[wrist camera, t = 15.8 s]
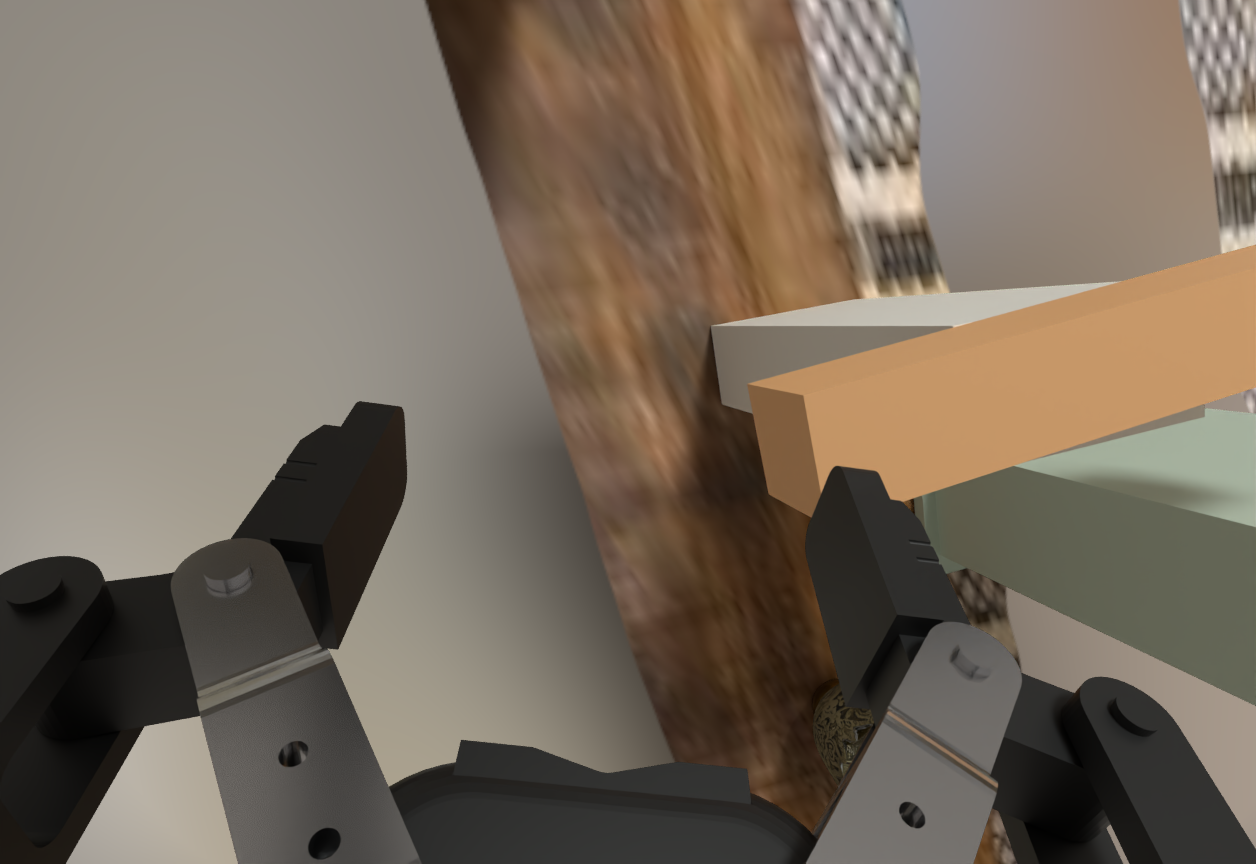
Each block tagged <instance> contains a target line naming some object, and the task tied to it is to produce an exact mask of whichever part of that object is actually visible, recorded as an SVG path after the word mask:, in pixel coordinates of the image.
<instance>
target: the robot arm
mask: <svg viewBox="0 0 1256 864" xmlns="http://www.w3.org/2000/svg"><path fill="white" fill-rule="evenodd" d="M405 440H406V439H405V420H404V412H403V409H402V407H399V406H391V405H384V404H377V403H369V402H362V401H359V402H357V403H356V404H355V406H354V407H353V409H352V410H351V412H350V413H349V415H348V417H347V418H346V420H345V421H344V423H343V424H342V426H341V427H339V426H331V425H323V426H321V427H320V428H318V429H317V430H315V431H314V432H312V433H311V434H309V435H308V436H306V437H305V438H303V439H302V440H300V441H299V443H298V444H297V446H296V447H295V449H294V450H293V451H292V453H291V454H290V456H289V457H288V458H287V462H286V464H283V466H282V467H281V468H280V470H279V471H278V473H277V474H276V476H275V480H272V481H271V482H270V484H269V485H268V487H267V488H266V490H265V491H264V492H263V494H262V495H261V497H260V498H259V500H258V501H257V502H256V504H255V505H254V507H253V508H252V510H251V511H250V512H249V514H248V515H247V517H246V518H245V519H244V521H243V522H242V524H241V525H240V526H239V528H238V529H237V531H236V532H235V534H234V535H233V536H232V538H231V539H228V540H224V541H220V542H216V543H213V544H211V545H208V546H206V547H204V548H201V549H200V550H198V551H196V552H195V553H193V554H191V555H190V556H189V557H188V558H186V559H185V560H184V561H183V562H182V563H181V564H180V565H179V566H178V568H177V569H176V571H175V572H173V573H169V574H163V575H156V576H148V577H140V578H131V579H123V580H115V581H106V582H105V580H104V577H103V575H102V572H101V571H100V569H99V568H98V567H97V566H96V565H95V564H94V563H92V562H91V561H89V560H86V559H83V558H79V557H71V556H57V557H48V558H43V559H38V560H35V561H31V562H28V563H25V564H22V565H20V566H17V567H15V568H13V569H10V570H9V571H6V572H4V573H3V574H1V575H0V864H66V862H67V860H68V859H69V857H70V855H71V853H72V852H73V850H74V848H75V846H76V845H77V843H78V841H79V840H80V838H81V836H82V834H83V833H84V831H85V829H86V827H87V826H88V824H89V822H90V820H91V819H92V817H93V815H94V813H95V812H96V810H97V808H98V806H99V805H100V803H101V801H102V799H103V798H104V796H105V794H106V792H107V791H108V789H109V787H110V785H111V784H112V782H113V780H114V779H115V777H116V775H117V773H118V772H119V770H120V768H121V766H122V765H123V763H124V761H125V759H126V758H127V756H128V754H129V752H130V751H131V749H132V747H133V745H134V744H135V742H136V740H137V738H138V737H139V735H140V733H141V731H142V730H143V728H144V726H148V725H154V724H159V723H165V722H170V721H175V720H180V719H186V718H191V717H197V716H201V720H202V724H203V728H204V732H205V736H206V740H207V744H208V748H209V751H210V755H211V759H212V763H213V767H214V771H215V775H216V779H217V783H218V787H219V790H220V794H221V798H222V802H223V806H224V810H225V814H226V818H227V822H228V825H229V830H230V833H231V837H232V841H233V845H234V849H235V853H236V857H237V861H238V864H973V863H974V860H975V857H976V854H977V851H978V848H979V845H980V842H981V839H982V836H983V833H984V830H985V827H986V824H987V821H988V818H989V815H990V812H991V809H992V808H993V809H995V810H998V811H999V813H1000V816H1001V819H1002V821H1003V824H1004V827H1005V830H1006V833H1007V835H1008V838H1009V841H1010V844H1011V847H1012V850H1013V852H1014V855H1015V858H1016V861H1017V864H1123V863H1122V860H1121V858H1120V856H1119V854H1118V852H1117V850H1116V848H1115V846H1114V843H1113V841H1112V839H1111V837H1110V835H1109V833H1108V831H1107V829H1106V828H1107V827H1108V826H1109V825H1110V824H1111V826H1112V828H1113V830H1114V832H1115V834H1116V836H1117V839H1118V840H1119V842H1120V845H1121V847H1122V849H1123V851H1124V853H1125V855H1126V857H1127V859H1128V861H1129V863H1130V864H1256V849H1255V847H1254V846H1253V844H1252V843H1251V841H1250V839H1249V838H1248V836H1247V835H1246V833H1245V831H1244V830H1243V828H1242V827H1241V825H1240V823H1239V822H1238V820H1237V819H1236V817H1235V815H1234V814H1233V812H1232V811H1231V809H1230V807H1229V806H1228V804H1227V803H1226V801H1225V800H1224V798H1223V796H1222V795H1221V793H1220V792H1219V790H1218V788H1217V787H1216V786H1215V784H1214V782H1213V780H1212V779H1211V777H1210V776H1209V774H1208V772H1207V771H1206V769H1205V768H1204V766H1203V764H1202V763H1201V761H1200V760H1199V759H1198V756H1197V755H1196V753H1195V752H1194V750H1193V748H1192V747H1191V745H1190V744H1189V742H1188V741H1187V739H1186V737H1185V736H1184V734H1183V733H1182V731H1181V729H1180V728H1179V726H1178V725H1177V723H1176V722H1175V721H1174V719H1173V718H1172V717H1171V716H1170V715H1169V713H1168V712H1167V711H1166V710H1165V709H1164V708H1163V707H1162V706H1161V705H1160V704H1158V703H1157V702H1156V701H1155V700H1153V699H1152V698H1151V697H1150V696H1148V695H1147V694H1145V693H1144V692H1142V691H1141V690H1139V689H1137V688H1135V687H1134V686H1131V685H1129V684H1127V683H1125V682H1122V681H1119V680H1117V679H1113V678H1108V677H1094V678H1090V679H1088V680H1086V681H1085V682H1084V683H1083V684H1082V686H1080V688H1079V689H1078V690H1077V691H1076V692H1075V693H1072V692H1070V691H1067V690H1064V689H1062V688H1059V687H1056V686H1054V685H1051V684H1048V683H1046V682H1043V681H1041V680H1038V679H1035V678H1033V677H1030V676H1028V675H1025V674H1023V673H1021V672H1020V668H1019V666H1018V664H1017V662H1016V660H1015V659H1014V657H1013V656H1012V655H1011V653H1010V652H1009V651H1008V650H1007V649H1006V648H1005V647H1004V646H1003V645H1002V644H1001V643H1000V642H999V641H997V640H996V639H995V638H994V637H992V636H991V635H989V634H988V633H986V632H984V631H982V630H980V629H978V628H976V627H973V626H971V625H970V623H969V621H968V619H967V616H966V614H965V612H964V610H963V608H962V606H961V604H960V602H959V600H958V598H957V596H956V594H955V591H954V589H953V587H952V585H951V583H950V581H949V579H948V577H947V575H946V573H945V571H944V569H943V567H942V564H939V558H938V556H937V554H936V552H935V550H934V548H933V547H932V546H930V544H931V542H930V539H929V537H928V535H927V533H926V531H925V529H924V527H923V525H922V523H921V521H920V520H919V519H918V518H917V517H916V516H915V515H914V514H913V513H912V512H911V511H910V510H909V508H908V507H907V506H906V505H905V504H904V503H903V502H902V501H899V500H892V499H890V497H889V495H888V493H887V490H886V488H885V486H884V484H883V481H882V479H881V477H880V475H879V473H878V472H877V471H874V470H866V469H859V468H851V467H843V466H835V467H833V469H832V470H831V471H830V473H829V476H828V478H827V480H826V483H825V485H824V488H823V490H822V493H821V495H820V498H819V500H818V503H817V505H816V508H815V510H814V513H813V515H812V518H811V520H810V523H809V525H808V529H807V534H806V542H805V550H806V558H807V562H808V566H809V569H810V573H811V577H812V581H813V585H814V588H815V592H816V596H817V600H818V604H819V607H820V611H821V615H822V619H823V623H824V626H825V630H826V634H827V638H828V642H829V645H830V649H831V653H832V657H833V661H834V664H835V668H836V672H837V676H838V680H839V683H840V687H841V691H842V695H843V699H844V702H845V706H846V707H852V708H861V709H870V710H871V713H872V717H873V720H874V723H873V725H872V726H871V728H870V729H869V731H868V733H867V735H866V736H865V738H864V740H863V742H862V744H861V745H860V747H859V749H858V751H857V753H856V754H855V756H854V758H853V760H852V762H851V764H850V765H849V767H848V769H847V771H846V773H845V774H844V776H843V778H842V780H841V782H840V783H839V785H838V787H837V789H836V791H835V792H834V794H833V796H832V798H831V800H830V801H829V803H828V805H827V807H826V809H825V810H824V812H823V814H822V816H821V817H820V819H819V821H818V823H817V824H816V826H815V828H814V829H813V831H812V833H811V832H810V831H809V830H808V829H807V828H806V827H805V826H804V825H802V824H801V823H800V822H799V821H797V820H796V819H795V818H794V817H793V816H791V815H790V814H789V813H787V812H786V811H784V810H782V809H781V808H779V807H778V806H776V805H775V804H773V803H771V802H769V801H767V800H765V799H763V798H761V797H759V796H757V795H754V794H752V793H750V788H749V780H748V772H747V769H742V768H732V767H723V766H713V765H703V764H693V763H683V762H675V763H669V764H663V765H657V766H651V767H644V768H638V769H633V770H626V771H620V772H614V773H603V772H599V771H596V770H593V769H590V768H588V767H585V766H582V765H579V764H577V763H574V762H571V761H569V760H566V759H563V758H561V757H558V756H555V755H553V754H549V753H547V752H544V751H542V750H539V749H536V748H533V747H525V746H516V745H506V744H496V743H487V742H486V743H485V742H477V741H467V740H461V742H460V747H459V751H458V756H457V759H456V762H455V763H450V764H445V765H440V766H436V767H433V768H430V769H426V770H423V771H421V772H418V773H416V774H413V775H411V776H409V777H406V778H404V779H402V780H400V781H399V782H397V783H395V784H393V785H392V786H389V787H388V785H387V782H386V780H385V778H384V775H383V773H382V771H381V769H380V766H379V764H378V762H377V759H376V757H375V755H374V752H373V750H372V748H371V745H370V743H369V741H368V738H367V736H366V734H365V731H364V729H363V727H362V725H361V722H360V720H359V718H358V715H357V713H356V711H355V709H354V706H353V704H352V701H351V699H350V697H349V695H348V692H347V690H346V688H345V685H344V683H343V681H342V678H341V676H340V674H339V672H338V669H337V667H336V664H335V662H334V660H333V658H332V656H331V654H330V652H329V650H328V649H327V648H329V649H339V646H340V644H341V642H342V639H343V637H344V635H345V633H346V630H347V628H348V626H349V624H350V621H351V619H352V617H353V615H354V612H355V610H356V607H357V605H358V603H359V601H360V599H361V596H362V594H363V592H364V589H365V587H366V585H367V583H368V580H369V578H370V576H371V573H372V571H373V569H374V567H375V565H376V562H377V560H378V558H379V555H380V553H381V551H382V549H383V546H384V544H385V542H386V539H387V537H388V535H389V533H390V530H391V528H392V526H393V524H394V521H395V519H396V517H397V515H398V512H399V510H400V508H401V505H402V502H403V499H404V495H405V489H406V483H407V460H406V441H405Z"/></svg>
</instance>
